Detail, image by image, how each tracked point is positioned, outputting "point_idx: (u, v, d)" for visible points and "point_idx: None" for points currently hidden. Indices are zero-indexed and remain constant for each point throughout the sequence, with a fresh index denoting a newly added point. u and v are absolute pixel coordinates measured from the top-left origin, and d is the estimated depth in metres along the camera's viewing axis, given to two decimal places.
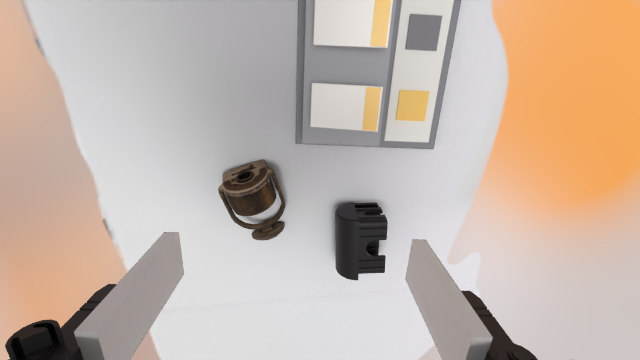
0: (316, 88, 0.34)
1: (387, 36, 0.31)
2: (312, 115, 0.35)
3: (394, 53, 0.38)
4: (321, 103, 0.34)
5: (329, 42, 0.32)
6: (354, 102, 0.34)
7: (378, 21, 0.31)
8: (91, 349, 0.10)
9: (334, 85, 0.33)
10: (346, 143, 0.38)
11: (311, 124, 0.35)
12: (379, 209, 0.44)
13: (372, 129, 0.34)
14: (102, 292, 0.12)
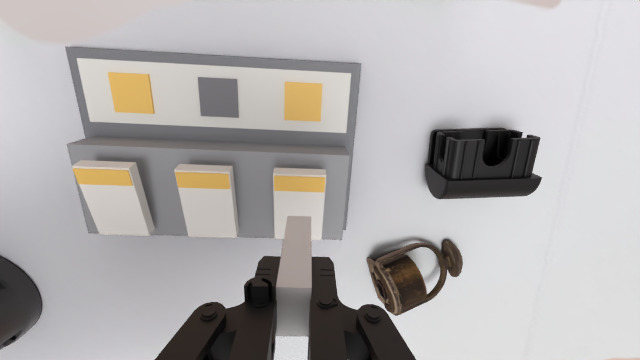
0: (279, 235, 0.31)
1: (217, 173, 0.27)
2: None
3: (244, 129, 0.33)
4: None
5: (232, 225, 0.30)
6: (292, 200, 0.29)
7: (204, 183, 0.28)
8: (285, 302, 0.13)
9: (275, 219, 0.30)
10: (343, 193, 0.32)
11: (318, 239, 0.32)
12: (439, 137, 0.33)
13: (323, 182, 0.28)
14: (264, 262, 0.15)
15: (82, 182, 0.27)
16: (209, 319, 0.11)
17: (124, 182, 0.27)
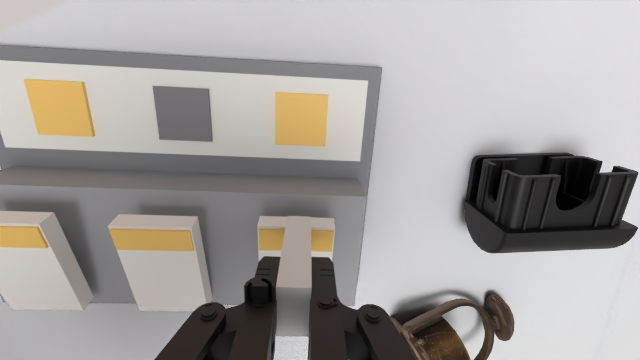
0: None
1: (173, 229, 0.18)
2: None
3: (221, 156, 0.24)
4: None
5: (200, 296, 0.21)
6: None
7: (154, 243, 0.19)
8: (284, 302, 0.13)
9: None
10: (358, 247, 0.23)
11: None
12: (488, 168, 0.24)
13: (330, 237, 0.19)
14: (264, 262, 0.15)
15: None
16: (209, 319, 0.11)
17: (34, 243, 0.18)
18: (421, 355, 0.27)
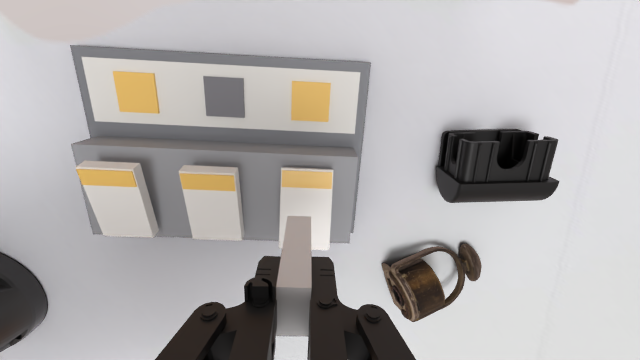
0: None
1: (222, 174, 0.27)
2: (315, 247, 0.29)
3: (250, 129, 0.32)
4: None
5: (237, 228, 0.30)
6: (299, 199, 0.29)
7: (208, 185, 0.27)
8: (285, 302, 0.13)
9: (280, 223, 0.29)
10: (351, 196, 0.31)
11: (326, 248, 0.29)
12: (451, 139, 0.32)
13: (330, 176, 0.28)
14: (264, 262, 0.15)
15: (86, 183, 0.27)
16: (209, 319, 0.11)
17: (128, 183, 0.27)
18: (404, 284, 0.35)
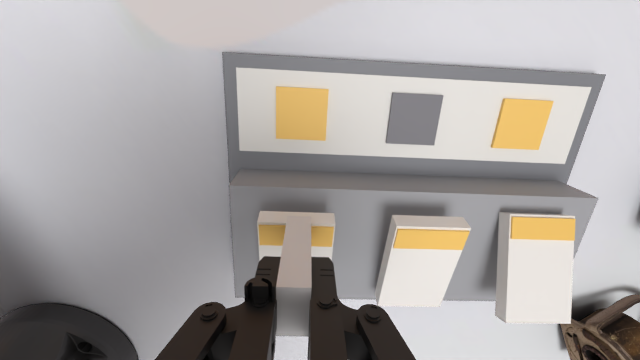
0: (513, 315, 0.22)
1: (455, 229, 0.19)
2: (553, 320, 0.22)
3: (435, 159, 0.25)
4: (534, 307, 0.22)
5: (441, 292, 0.23)
6: (532, 255, 0.22)
7: (431, 243, 0.20)
8: (285, 302, 0.13)
9: (508, 287, 0.22)
10: (576, 246, 0.24)
11: (567, 321, 0.22)
12: None
13: (573, 224, 0.22)
14: (264, 262, 0.15)
15: (265, 242, 0.19)
16: (209, 319, 0.11)
17: (323, 242, 0.20)
18: (619, 350, 0.28)
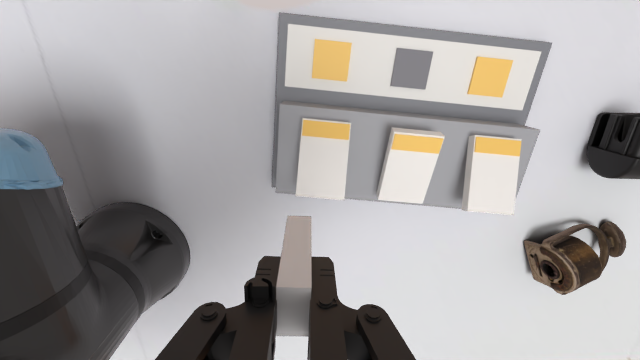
0: (473, 206, 0.31)
1: (433, 137, 0.29)
2: (501, 212, 0.31)
3: (426, 101, 0.34)
4: (488, 202, 0.31)
5: (424, 190, 0.32)
6: (489, 165, 0.31)
7: (417, 146, 0.29)
8: (285, 302, 0.13)
9: (471, 186, 0.31)
10: (524, 167, 0.33)
11: (511, 213, 0.31)
12: (617, 118, 0.34)
13: (519, 145, 0.31)
14: (264, 262, 0.15)
15: (305, 134, 0.30)
16: (209, 319, 0.11)
17: (343, 136, 0.30)
18: (564, 257, 0.37)
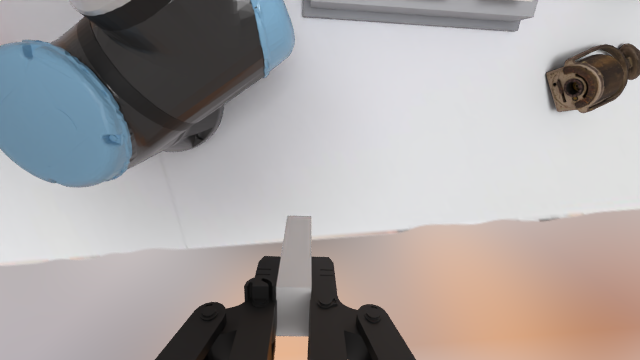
0: None
1: None
2: None
3: None
4: None
5: None
6: None
7: None
8: (285, 302, 0.13)
9: None
10: None
11: None
12: None
13: None
14: (264, 262, 0.15)
15: None
16: (209, 319, 0.11)
17: None
18: (588, 65, 0.39)
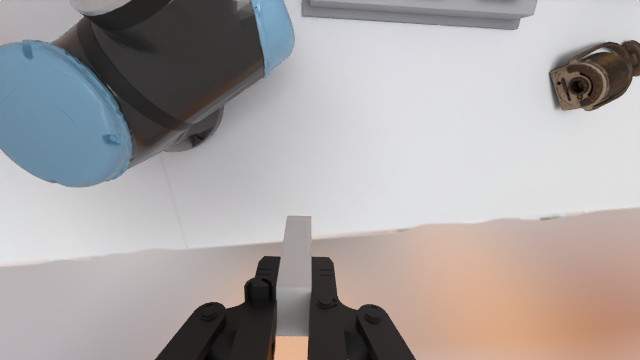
0: None
1: None
2: None
3: None
4: None
5: None
6: None
7: None
8: (285, 302, 0.13)
9: None
10: None
11: None
12: None
13: None
14: (264, 262, 0.15)
15: None
16: (209, 319, 0.11)
17: None
18: (592, 63, 0.39)
